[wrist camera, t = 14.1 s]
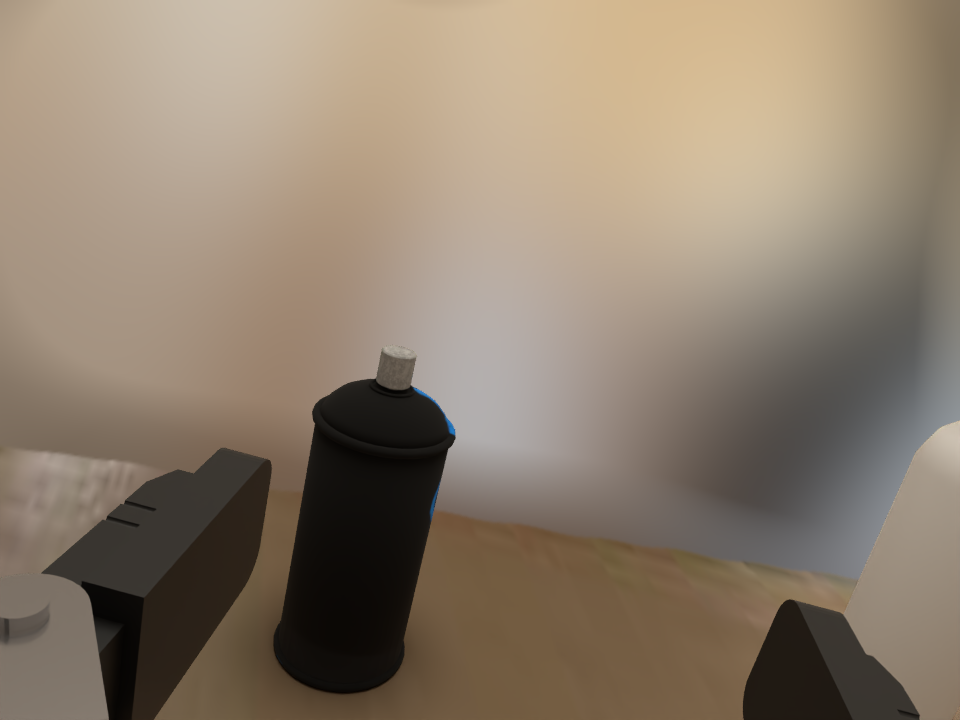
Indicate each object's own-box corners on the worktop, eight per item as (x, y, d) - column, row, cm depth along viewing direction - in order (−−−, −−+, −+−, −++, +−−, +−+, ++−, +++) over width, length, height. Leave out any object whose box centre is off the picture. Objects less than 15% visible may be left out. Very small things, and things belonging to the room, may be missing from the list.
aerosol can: (316, 714, 42) (381, 386, 36) (249, 625, 47) (296, 327, 41) (429, 665, 48) (502, 374, 42) (357, 590, 53) (413, 324, 47)
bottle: (864, 790, 46) (1094, 329, 37) (778, 694, 53) (954, 285, 44) (953, 776, 49) (1187, 346, 40) (861, 686, 56) (1042, 303, 47)
